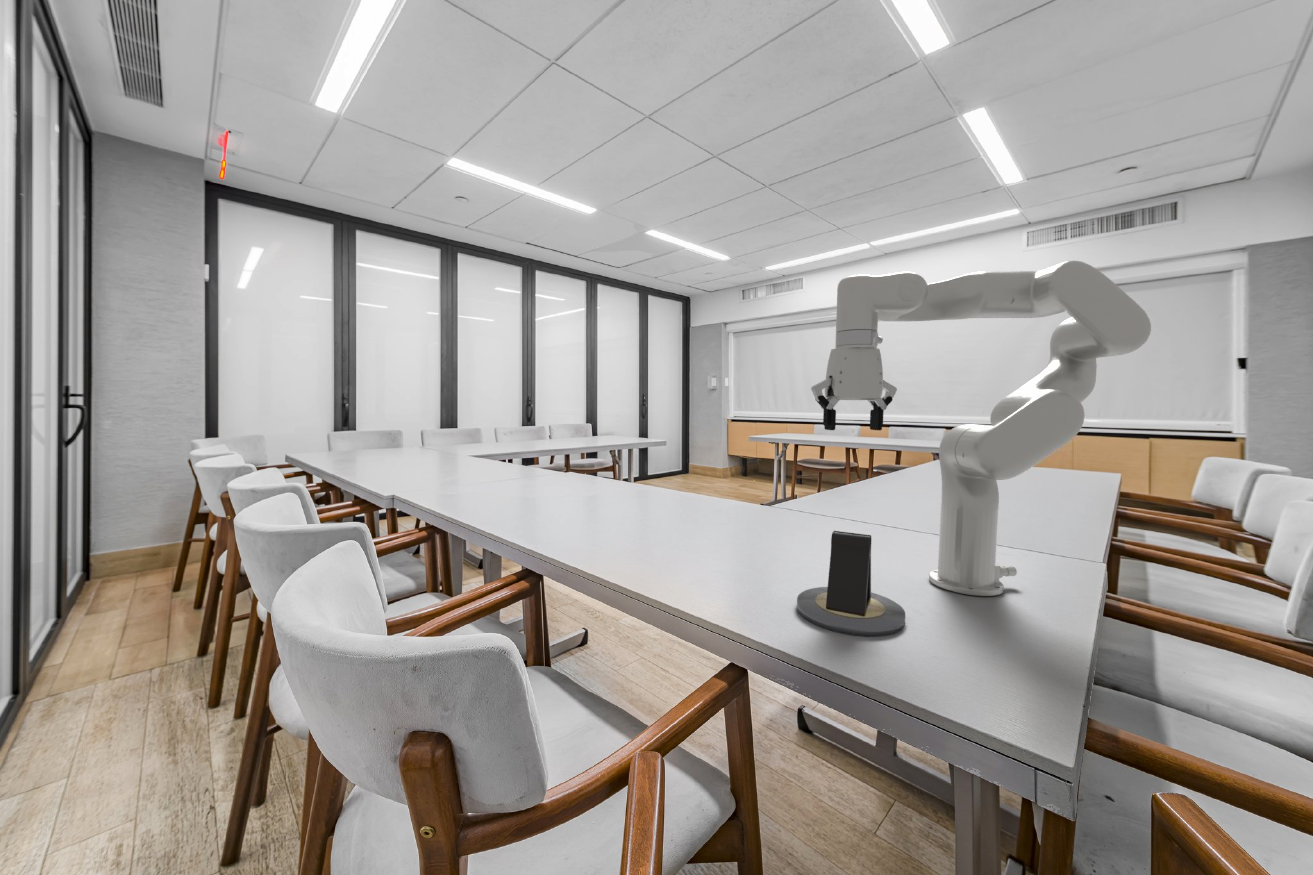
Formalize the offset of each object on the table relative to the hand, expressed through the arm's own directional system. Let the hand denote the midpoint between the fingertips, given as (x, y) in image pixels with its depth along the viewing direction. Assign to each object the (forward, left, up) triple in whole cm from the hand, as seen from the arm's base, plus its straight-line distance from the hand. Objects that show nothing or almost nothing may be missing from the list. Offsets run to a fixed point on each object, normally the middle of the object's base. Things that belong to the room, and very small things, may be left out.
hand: (852, 429), depth 100 cm
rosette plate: (+8, +15, -30) cm, 35 cm away
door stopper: (+8, +15, -29) cm, 33 cm away
